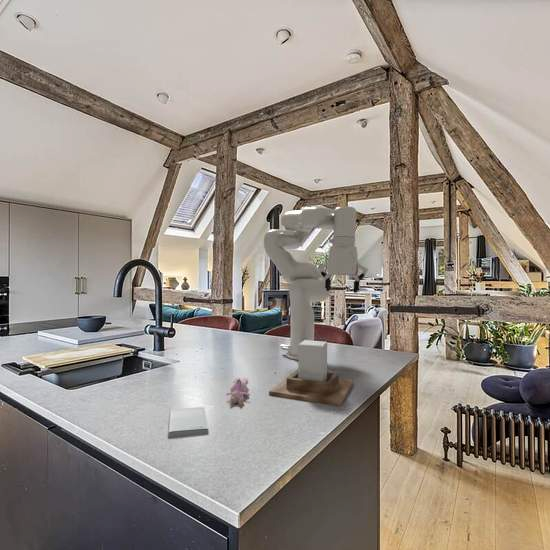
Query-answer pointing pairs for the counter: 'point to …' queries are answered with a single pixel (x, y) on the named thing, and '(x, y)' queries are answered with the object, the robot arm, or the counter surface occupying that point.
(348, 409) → the counter surface
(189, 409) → the hard drive
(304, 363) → the supplement box
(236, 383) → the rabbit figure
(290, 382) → the walnut holder
